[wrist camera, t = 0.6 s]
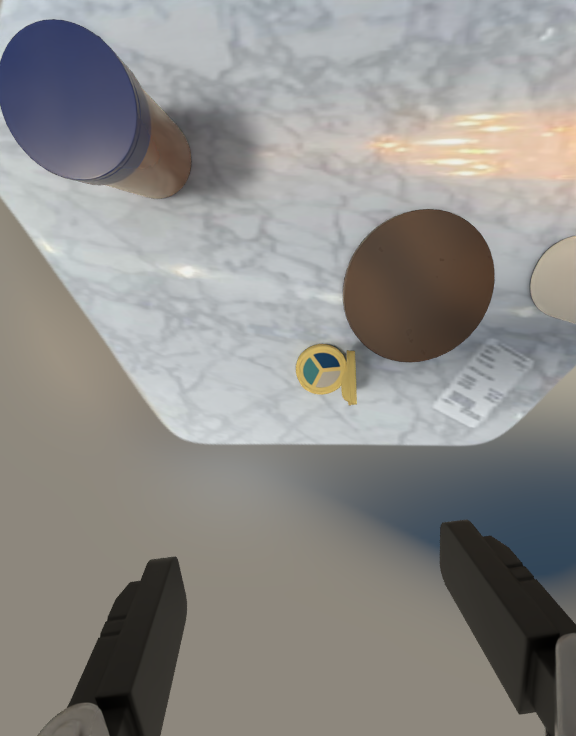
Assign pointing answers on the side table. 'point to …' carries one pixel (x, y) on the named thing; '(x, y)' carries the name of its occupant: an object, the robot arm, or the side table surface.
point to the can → (556, 281)
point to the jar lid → (73, 103)
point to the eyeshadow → (327, 371)
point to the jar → (160, 159)
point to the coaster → (418, 285)
